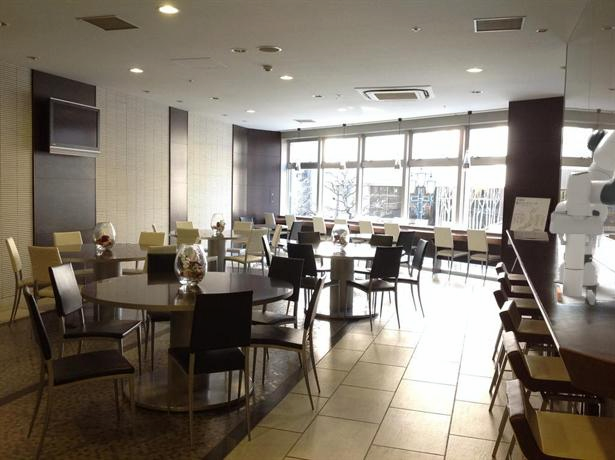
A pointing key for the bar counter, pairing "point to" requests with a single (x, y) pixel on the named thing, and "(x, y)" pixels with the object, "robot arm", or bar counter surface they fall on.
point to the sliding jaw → (558, 292)
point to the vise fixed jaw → (591, 297)
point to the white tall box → (574, 265)
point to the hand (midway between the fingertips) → (574, 245)
